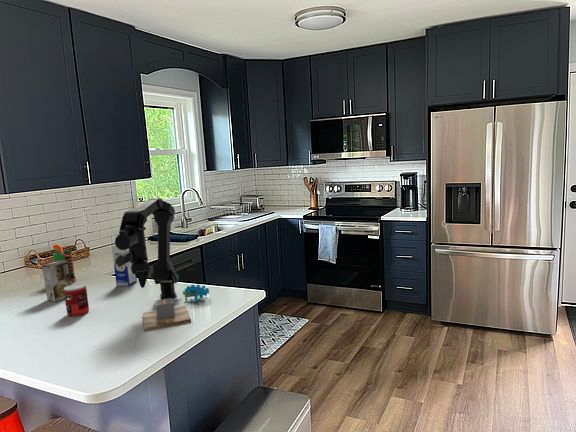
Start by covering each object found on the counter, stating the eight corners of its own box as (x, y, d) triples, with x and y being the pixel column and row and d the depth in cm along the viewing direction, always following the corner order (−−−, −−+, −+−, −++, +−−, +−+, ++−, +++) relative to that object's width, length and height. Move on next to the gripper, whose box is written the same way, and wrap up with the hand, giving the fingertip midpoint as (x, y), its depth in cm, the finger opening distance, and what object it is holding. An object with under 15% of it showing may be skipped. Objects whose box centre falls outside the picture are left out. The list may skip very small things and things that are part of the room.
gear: (213, 292, 180) (203, 281, 173) (212, 305, 177) (202, 294, 169) (188, 296, 182) (178, 285, 174) (187, 309, 179) (176, 298, 171)
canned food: (68, 311, 173) (64, 285, 171) (90, 308, 175) (86, 282, 174) (66, 318, 165) (62, 290, 164) (88, 314, 168) (84, 287, 167)
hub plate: (142, 315, 163) (141, 303, 162) (185, 308, 168) (184, 296, 167) (144, 331, 148) (142, 318, 147) (191, 322, 153) (189, 309, 152)
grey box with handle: (156, 314, 159) (155, 300, 159) (173, 311, 161) (171, 297, 161) (157, 319, 154) (156, 305, 153) (175, 316, 156) (173, 302, 155)
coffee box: (66, 293, 198) (61, 259, 195) (74, 295, 194) (69, 260, 192) (46, 300, 190) (41, 265, 188) (54, 302, 187) (49, 266, 184)
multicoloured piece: (75, 283, 214) (69, 244, 211) (55, 286, 211) (49, 247, 208) (77, 278, 223) (71, 241, 220) (57, 281, 220) (52, 243, 217)
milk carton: (116, 286, 205) (111, 245, 202) (124, 282, 211) (119, 242, 208) (129, 286, 203) (124, 245, 200) (137, 282, 210) (132, 242, 207)
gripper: (115, 242, 166) (120, 281, 168) (113, 251, 148) (119, 295, 151) (145, 238, 170) (149, 277, 172) (147, 247, 152) (152, 289, 154)
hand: (142, 284), depth 162 cm, fingers open, 9 cm apart
